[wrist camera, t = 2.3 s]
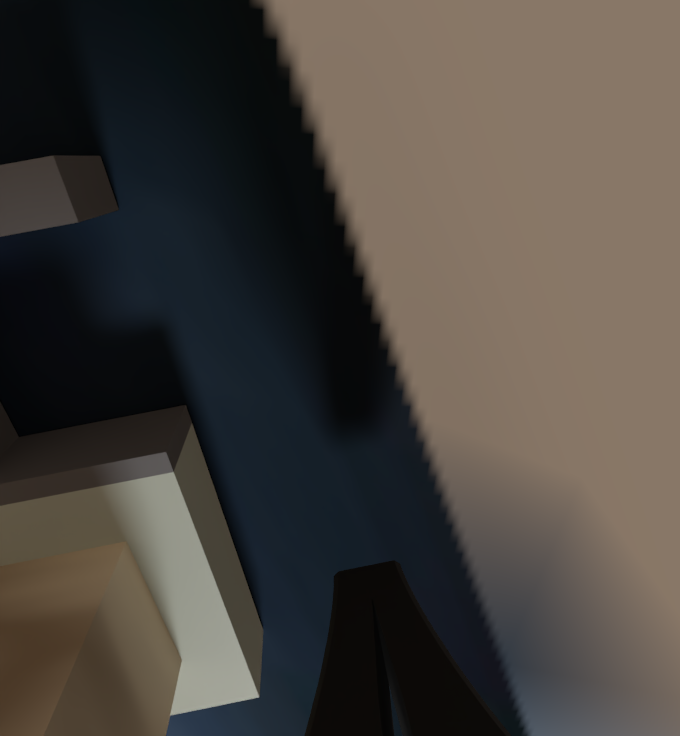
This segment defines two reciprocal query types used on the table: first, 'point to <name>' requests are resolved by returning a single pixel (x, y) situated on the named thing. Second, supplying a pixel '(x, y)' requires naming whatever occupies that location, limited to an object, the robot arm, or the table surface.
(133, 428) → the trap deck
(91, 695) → the birch block
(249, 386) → the table surface
